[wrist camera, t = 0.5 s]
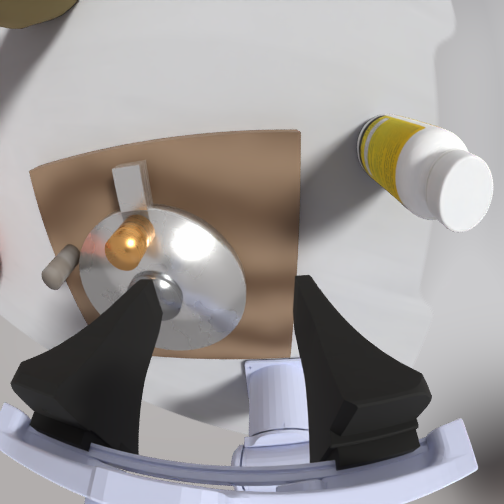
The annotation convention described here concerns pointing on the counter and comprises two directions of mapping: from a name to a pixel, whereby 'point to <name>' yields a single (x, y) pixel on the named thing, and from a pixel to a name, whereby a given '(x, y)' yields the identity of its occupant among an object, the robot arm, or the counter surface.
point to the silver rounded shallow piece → (164, 264)
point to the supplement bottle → (426, 170)
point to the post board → (202, 205)
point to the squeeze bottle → (31, 11)
